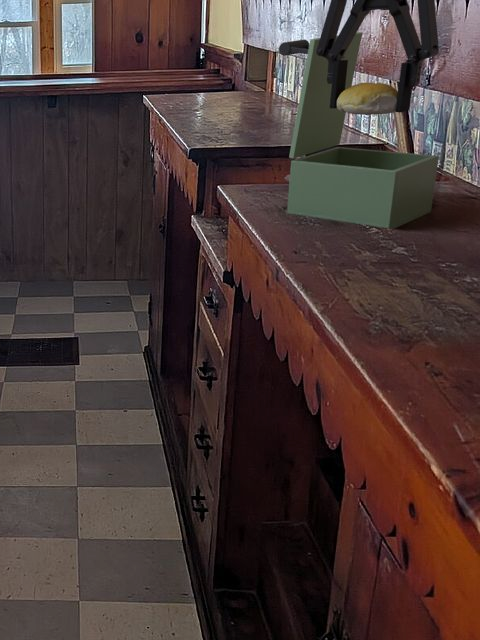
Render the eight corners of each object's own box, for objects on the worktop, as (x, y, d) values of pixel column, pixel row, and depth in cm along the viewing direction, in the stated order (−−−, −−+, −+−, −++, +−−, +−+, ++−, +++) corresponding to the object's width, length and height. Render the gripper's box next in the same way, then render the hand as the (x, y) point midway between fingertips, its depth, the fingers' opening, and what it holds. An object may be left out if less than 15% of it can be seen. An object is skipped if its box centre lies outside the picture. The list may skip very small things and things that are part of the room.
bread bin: (431, 212, 138) (439, 155, 134) (388, 231, 129) (396, 171, 125) (332, 198, 149) (337, 146, 146) (286, 216, 140) (290, 160, 137)
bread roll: (380, 105, 128) (383, 77, 127) (409, 113, 120) (413, 83, 119) (325, 108, 128) (328, 80, 127) (351, 116, 120) (354, 86, 118)
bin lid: (362, 32, 137) (315, 27, 143) (315, 39, 128) (266, 33, 134) (339, 144, 146) (295, 135, 151) (293, 158, 137) (248, 148, 142)
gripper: (485, -72, 110) (458, 110, 119) (325, -59, 125) (311, 102, 134) (462, -72, 105) (435, 117, 114) (298, -59, 120) (286, 108, 129)
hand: (368, 109), depth 124 cm, fingers closed on bread roll, 9 cm apart
